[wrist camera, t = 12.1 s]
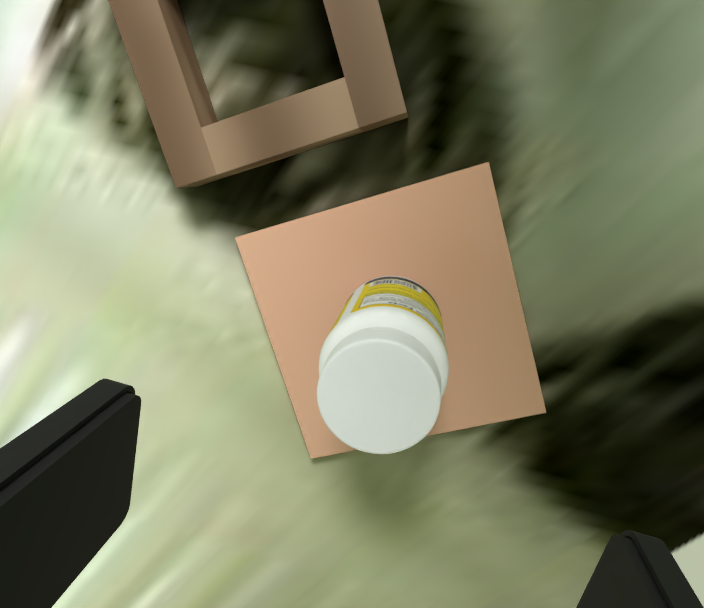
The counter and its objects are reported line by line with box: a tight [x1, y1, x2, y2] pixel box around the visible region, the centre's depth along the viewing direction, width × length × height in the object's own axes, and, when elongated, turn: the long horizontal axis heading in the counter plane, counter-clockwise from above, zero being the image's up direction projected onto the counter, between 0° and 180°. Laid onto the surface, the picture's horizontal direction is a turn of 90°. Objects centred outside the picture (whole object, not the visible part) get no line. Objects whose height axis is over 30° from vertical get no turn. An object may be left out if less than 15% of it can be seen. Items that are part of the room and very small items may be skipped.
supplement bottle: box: [317, 276, 449, 454], centre depth 20 cm, size 5×5×8 cm
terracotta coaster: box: [235, 162, 546, 459], centre depth 24 cm, size 12×12×1 cm
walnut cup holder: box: [108, 0, 408, 188], centre depth 21 cm, size 10×10×2 cm
